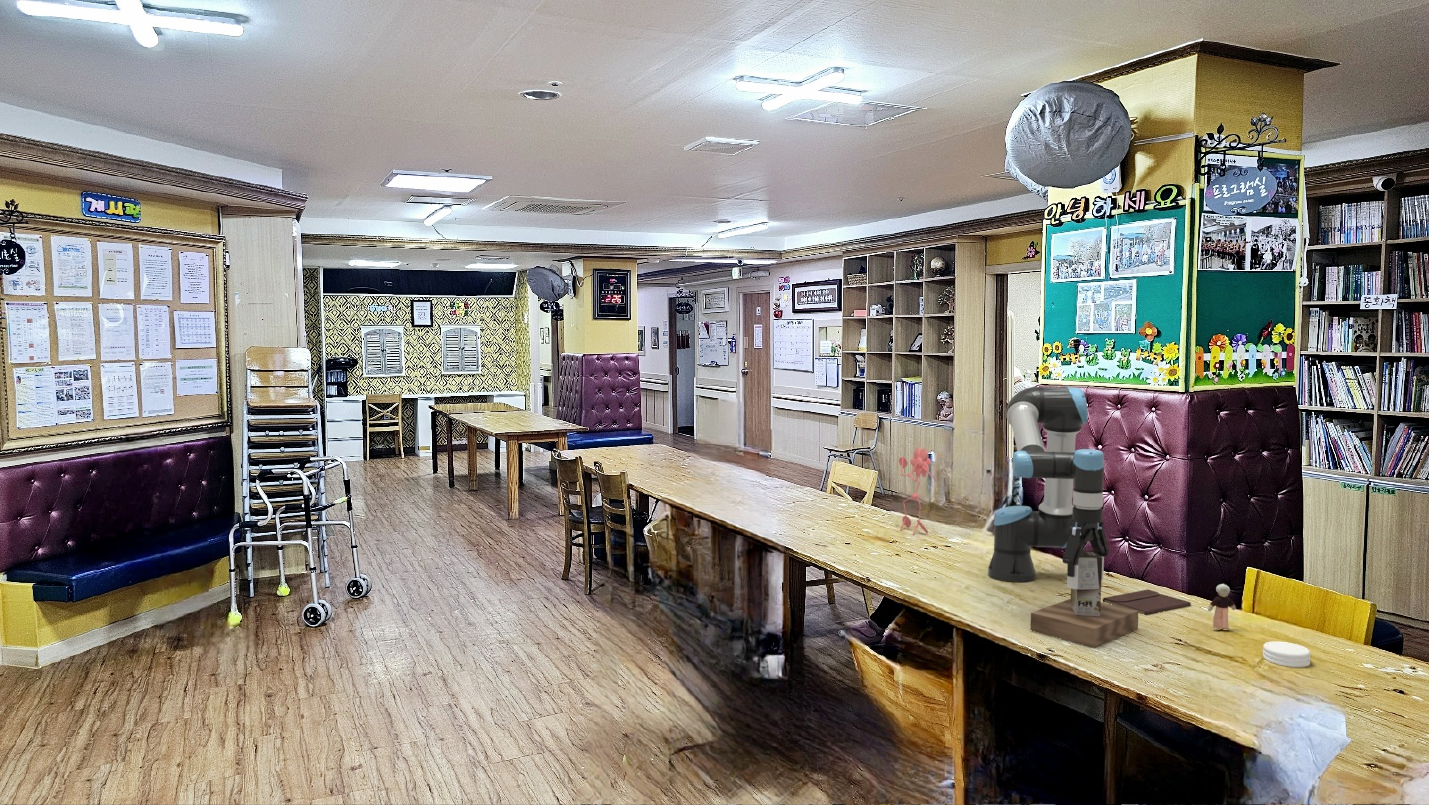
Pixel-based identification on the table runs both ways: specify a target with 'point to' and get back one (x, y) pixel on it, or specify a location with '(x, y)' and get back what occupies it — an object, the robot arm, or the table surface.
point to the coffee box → (1088, 585)
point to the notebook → (1147, 602)
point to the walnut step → (1084, 623)
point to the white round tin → (1286, 654)
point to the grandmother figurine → (1221, 607)
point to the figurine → (919, 467)
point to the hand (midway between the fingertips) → (1085, 583)
